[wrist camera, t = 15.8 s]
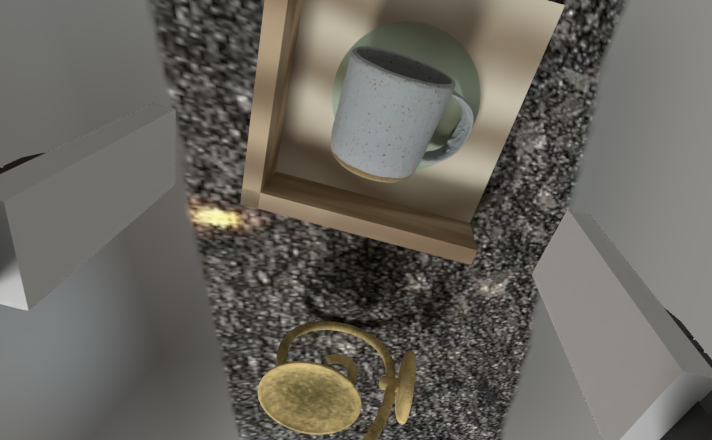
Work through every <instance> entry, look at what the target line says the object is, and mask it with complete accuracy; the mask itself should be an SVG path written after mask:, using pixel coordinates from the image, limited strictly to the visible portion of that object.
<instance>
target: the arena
mask: <svg viewBox="0 0 712 440" xmlns="http://www.w3.org/2000/svg"><path fill="white" fill-rule="evenodd" d="M564 6H565V5H562V4H559V3H555V2H552V1H548V0H265V3H264V11H263V19H262V28H261V36H260V45H259V53H258V61H257V70H256V78H255V86H254V95H253V103H252V111H251V120H250V128H249V137H248V145H247V153H246V162H245V170H244V178H243V187H242V195H241V204H243V205H247V206H251V207H254V208H258V209H262V210H266V211H270V212H273V213H277V214H281V215H285V216H288V217H292V218H296V219H300V220H304V221H307V222H311V223H315V224H319V225H322V226H326V227H330V228H334V229H338V230H341V231H345V232H349V233H353V234H356V235H360V236H364V237H368V238H372V239H375V240H379V241H383V242H387V243H390V244H394V245H398V246H402V247H406V248H409V249H413V250H417V251H421V252H424V253H428V254H432V255H436V256H440V257H443V258H447V259H451V260H455V261H458V262H462V263H466V264H470V265H471V263H472V261H473V259H474V257H475V255H476V252H477V247H476V243H475V240H474V236H473V232H472V229H471V225H470V222H471V220H472V217H473V215H474V213H475V210H476V208H477V206H478V204H479V201H480V199H481V197H482V194H483V192H484V190H485V188H486V185H487V183H488V181H489V178H490V176H491V174H492V171H493V169H494V167H495V165H496V162H497V160H498V158H499V155H500V153H501V151H502V149H503V146H504V144H505V142H506V139H507V137H508V135H509V133H510V130H511V128H512V126H513V123H514V121H515V119H516V116H517V114H518V112H519V110H520V107H521V105H522V103H523V100H524V98H525V96H526V94H527V91H528V89H529V87H530V84H531V82H532V80H533V77H534V75H535V73H536V71H537V68H538V66H539V64H540V61H541V59H542V57H543V55H544V52H545V50H546V48H547V45H548V43H549V41H550V38H551V36H552V34H553V32H554V29H555V27H556V25H557V22H558V20H559V18H560V16H561V13H562V11H563V9H564ZM360 46H370V47H376V48H381V49H385V50H389V51H393V52H396V53H399V54H402V55H406V56H409V57H411V58H413V59H416V60H418V61H421V62H424V63H426V64H428V65H431V66H433V67H434V68H437V69H439V70H440V71H442V72H444V73H445V74H447V75H448V76H449V77H451V78H452V79H453V80H454V81H455V88H454V91H455V92H457V93H458V94H460V95H461V96H462V97H463V98H465V99H466V101H467V102H468V103H469V105H470V107H471V109H472V111H473V115H474V125H473V128H472V131H471V133H470V136H469V137H468V139H467V141H466V142H465V144H464V145H463V146H462V148H461V149H460V150H459V151H458V152H457V153H455V154H454V155H453V156H451V157H450V158H448V159H446V160H444V161H440V162H435V163H425V162H420V164H419V165H418V167H417V168H416V170H415V171H414V172H413V174H412V175H411V176H410V177H409V178H407V179H406V180H402V181H399V182H394V183H386V182H378V181H373V180H370V179H366V178H363V177H361V176H358V175H356V174H354V173H352V172H350V171H349V170H347V169H346V168H344V167H343V166H342V165H341V164H340V163H339V162H338V161H337V160H336V159H335V157H334V155H333V154H332V151H331V134H332V128H333V124H334V120H335V116H336V113H337V109H338V105H339V100H340V96H341V92H342V88H343V83H344V79H345V76H346V72H347V68H348V63H349V59H350V55H351V52H352V50H353V49H354V48H356V47H360ZM461 114H462V107H461V105H460V103H459V102H458V100H456V99H455V98H454V97H451V98H450V100H449V102H448V104H447V106H446V108H445V110H444V112H443V115H442V117H441V119H440V121H439V123H438V125H437V127H436V129H435V131H434V133H433V135H432V137H431V140H430V142H429V144H428V147H427V149H426V152H427V151H433V150H436V149H439V148H441V147H443V146H444V145H445V144H447V141H448V139H449V138H450V137H451V136H452V134H453V132H454V131H455V129H456V127H457V125H458V123H459V122H460V119H461Z"/></svg>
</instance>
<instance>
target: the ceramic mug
mask: <svg viewBox="0 0 712 440" xmlns="http://www.w3.org/2000/svg"><path fill="white" fill-rule="evenodd" d="M454 88H455V81H454V80H453V79H452V78H451V77H449V76H448V75H447V74H445V73H444V72H442V71H440V70H439V69H437V68H434V67H433V66H431V65H428V64H426V63H424V62H421V61H418V60H416V59H413V58H411V57H409V56H406V55H402V54H399V53H396V52H393V51H389V50H385V49H381V48H376V47H370V46H360V47H356V48H354V49H353V50H352V52H351V55H350V59H349V63H348V68H347V72H346V76H345V79H344V83H343V88H342V92H341V96H340V100H339V105H338V109H337V113H336V116H335V120H334V124H333V128H332V134H331V151H332V154H333V155H334V157H335V159H336V160H337V161H338V162H339V163H340V164H341V165H342V166H343V167H344V168H346V169H347V170H349V171H350V172H352V173H354V174H356V175H358V176H361V177H363V178H366V179H370V180H373V181H378V182H386V183H394V182H399V181H402V180H406V179H407V178H409V177H410V176H411V175H412V174H413V172H414V171H415V170H416V168H417V167H418V165H419V164H420V162H425V163H435V162H440V161H444V160H446V159H448V158H450V157H451V156H453V155H454V154H455V153H457V152H458V151H459V150H460V149H461V148H462V146H463V145H464V144H465V142H466V141H467V139H468V137H469V136H470V133H471V131H472V128H473V125H474V115H473V111H472V109H471V107H470V105H469V103H468V102H467V101H466V99H465V98H463V97H462V96H461V95H460V94H458V93H457V92H455V91H454ZM451 97H454V98H455V99H456V100H458V102H459V103H460V105H461V107H462V114H461V119H460V122H459V123H458V125H457V127H456V129H455V131H454V132H453V134H452V136H451V137H450V138H449V139H448V141H447V144H445V145H444V146H443V147H441V148H439V149H436V150H433V151H427V152H426V149H427V147H428V144H429V142H430V140H431V137H432V135H433V133H434V131H435V129H436V127H437V125H438V123H439V121H440V119H441V117H442V115H443V112H444V110H445V108H446V106H447V104H448V102H449V100H450V98H451Z"/></svg>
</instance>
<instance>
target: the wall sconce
mask: <svg viewBox="0 0 712 440" xmlns="http://www.w3.org/2000/svg"><path fill="white" fill-rule="evenodd" d="M314 330H336V331H342V332H346V333H350V334H352V335H355V336H357V337H359V338H361V339H363V340H365V341H366V342H368V343H369V344H370V345H372V346H373V347H374V348H375V349H376V350H377V351H378V353H379V354H380V355H381V357H382V359H383V361H384V364H385V369H386V376H382V377H381V378H380V380H379V387H380V388H381V389H382V390H385V394H384V398H383V402H382V405H381V408H380V410H379V413H378V415H377V417H376V419H375V421H374V423H373V425H372V426H371V428H370V429H369V431H368V433H367V434H366V436H365V437H364V438H363V440H377V438H378V436H379V435H380V433H381V431H382V429H383V427H384V425H385V423H386V421H387V419H388V416H389V413H390V411H391V408H392V404H393V400H394V394H395V392H396V394H395V413H396V419H397V421H398V422H399V423H401V424H405V422H406V421H407V419H408V416H409V412H410V408H411V404H412V399H413V393H414V385H415V373H416V360H415V354H414V352H412V351H408V352H407V353H406V354H405V355H404V357H403V360H402V362H401V366H400V369H399V374H398V378H395V368H394V364H393V360H392V357H391V355H390V353H389V351H388V350H387V348H386V347H385V346H384V345H383V344H382V343H381V342H380V341H379V340H378V339H377V338H376V337H374V336H373V335H372V334H370V333H368V332H367V331H365V330H363V329H361V328H358V327H356V326H353V325H350V324H346V323H341V322H334V321H316V322H310V323H306V324H303V325H301V326H298V327H296V328H295V329H293V330H291V331H290V332H289V333H288V334H287V335H286V336H285V337H284V338H283V340H282V341H281V343H280V346H279V349H278V352H277V359H276V360H277V366H276V367H275V368H273V369H271V370H270V371H269V372H267V373H266V374H265V375H264V377H263V378H262V380H261V381H260V384H259V386H258V398H259V401H260V404H261V406H262V407H263V409H264V410H265V412H266V413H267V414H268V415H269V416H270V417H271V418H272V419H274V420H275V421H276V422H278V423H279V424H281V425H283V426H285V427H287V428H289V429H292V430H295V431H298V432H302V433H307V434H316V435H318V434H331V433H335V432H338V431H341V430H343V429H346V428H347V427H349V426H350V425H351V424H353V423H354V422H355V420H356V419H357V418H358V416H359V414H360V411H361V399H360V395H359V393H358V390H357V389H356V387H355V386H354V383H355V381H356V378H357V369H356V366H355V364H354V362H353V361H352V360H351V359H350V358H348V357H346V356H344V355H339V354H333V355H329V356H326V360H327V362H328V363H331V364H333V363H339V364H342V365H344V366H345V367H346V368H347V371H348V376H347V377H346V376H344V375H343V374H342V373H340V372H338V371H337V370H335V369H333V368H331V367H328V366H326V365H325V364H319V363H314V362H306V361H296V362H289V363H286V355H287V350H288V348H289V346H290V344H291V343H292V341H293V340H294V339H295V338H297V337H298V336H300V335H302V334H304V333H307V332H310V331H314Z"/></svg>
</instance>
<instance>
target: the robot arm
mask: <svg viewBox="0 0 712 440" xmlns="http://www.w3.org/2000/svg"><path fill="white" fill-rule="evenodd" d="M175 121H176V109H173V108H169V107H165V106H161V105H157V104H150V105H147V106H145V107H143V108H141V109H139V110H137V111H135V112H132V113H130V114H128V115H126V116H124V117H122V118H120V119H117V120H115V121H113V122H111V123H109V124H107V125H105V126H103V127H100V128H98V129H96V130H94V131H92V132H90V133H87V134H85V135H83V136H81V137H79V138H77V139H75V140H73V141H70V142H68V143H66V144H64V145H62V146H60V147H57V148H55V149H53V150H51V151H49V152H47V153H41V154H36V155H32V156H28V157H23V158H20V159H18V160H16V161H13V162H11V163H9V164H7V165H5V166H4V167H3V168H0V304H2V305H6V306H10V307H15V308H19V309H23V310H27V311H29V310H30V309H31V308H32V307H34V306H35V305H36V304H37V303H38V302H39V301H40V300H42V299H43V298H44V297H45V296H46V295H48V294H49V293H50V292H51V291H52V290H53V289H55V288H56V287H57V286H58V285H59V284H60V283H61V282H63V281H64V280H65V279H66V278H67V277H69V276H70V274H72V273H73V272H74V271H75V270H77V269H78V268H79V267H80V266H81V265H82V264H84V263H85V262H86V261H87V260H88V259H89V258H90V257H92V256H93V255H94V254H95V253H96V252H97V251H99V250H100V249H101V248H102V247H103V246H104V245H106V244H107V243H108V242H109V241H110V240H111V239H113V238H114V237H115V236H116V235H117V234H118V233H120V232H121V231H122V230H123V229H124V228H125V227H127V225H129V224H130V223H131V222H132V221H133V220H135V219H136V218H137V217H138V216H139V215H140V214H141V213H143V212H144V211H145V210H146V209H147V208H149V207H150V206H151V205H152V204H153V203H154V202H155V201H157V200H158V199H159V198H160V197H161V196H162V195H164V194H165V193H166V192H167V191H168V190H169V189H171V188H172V187H173V186H174V185H175ZM532 276H533V278H534V281H535V283H536V285H537V288H538V290H539V293H540V295H541V297H542V300H543V302H544V304H545V307H546V309H547V311H548V314H549V316H550V318H551V321H552V323H553V325H554V328H555V330H556V332H557V335H558V337H559V339H560V342H561V344H562V346H563V349H564V351H565V353H566V356H567V358H568V361H569V363H570V365H571V368H572V370H573V372H574V375H575V377H576V379H577V382H578V384H579V386H580V388H581V391H582V393H583V396H584V398H585V400H586V403H587V405H588V407H589V410H590V412H591V414H592V417H593V419H594V421H595V424H596V426H597V428H598V431H599V433H600V436H601V438H602V440H712V360H711V358H710V357H709V356H708V355H707V354H706V353H704V350H703V348H702V347H701V346H700V345H699V343H698V342H697V341H696V340H693V338H694V337H693V336H692V335H691V333H690V332H689V331H688V330H687V329H686V327H685V326H684V325H683V324H682V322H681V321H680V320H678V319H677V318H676V317H675V316H674V315H672V314H671V313H670V312H669V311H668V310H666V309H665V308H664V307H663V306H662V305H661V304H660V302H659V301H658V300H657V299H656V297H655V296H654V295H653V293H652V292H651V291H650V290H649V288H648V287H647V286H646V285H645V283H644V282H643V281H642V280H641V278H640V277H639V276H638V274H637V273H636V272H635V271H634V269H633V268H632V267H631V266H630V264H629V263H628V262H627V261H626V259H625V258H624V257H623V256H622V254H621V253H620V252H619V250H618V249H617V248H616V247H615V245H614V244H613V243H612V242H611V241H610V239H609V238H608V237H607V235H606V234H605V233H604V231H603V230H602V229H601V228H600V226H599V225H598V224H597V223H596V221H595V220H594V219H593V218H592V216H591V215H589V214H585V213H581V212H577V211H573V210H569V209H568V210H567V212H566V214H565V215H564V217H563V219H562V221H561V223H560V224H559V226H558V228H557V230H556V232H555V233H554V235H553V237H552V239H551V241H550V242H549V244H548V246H547V248H546V250H545V252H544V253H543V255H542V257H541V259H540V261H539V262H538V264H537V266H536V268H535V270H534V271H533V273H532Z"/></svg>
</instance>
